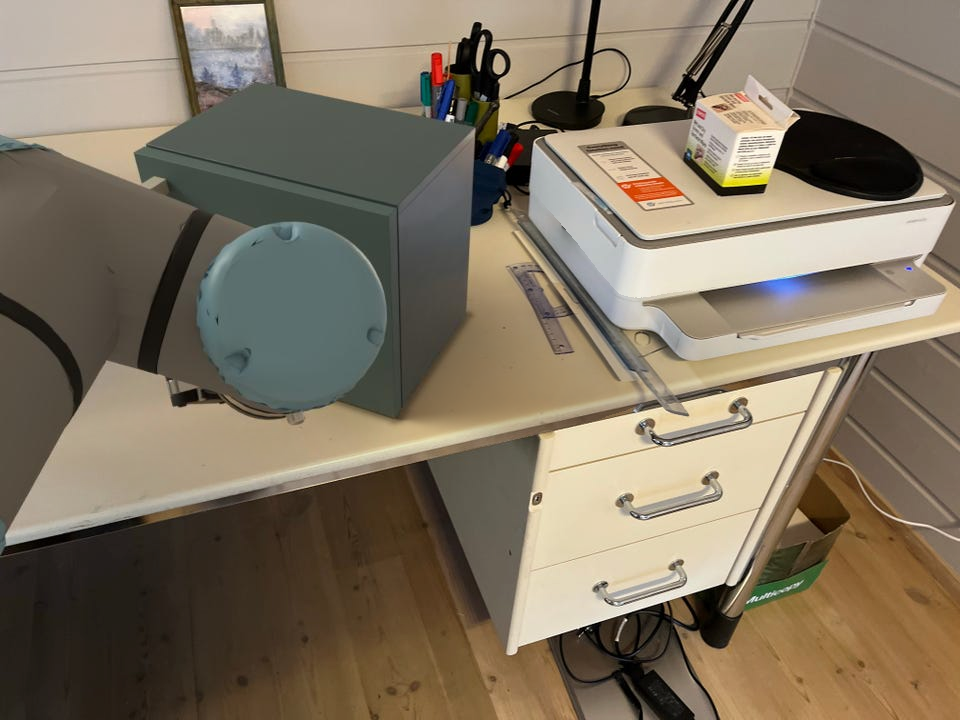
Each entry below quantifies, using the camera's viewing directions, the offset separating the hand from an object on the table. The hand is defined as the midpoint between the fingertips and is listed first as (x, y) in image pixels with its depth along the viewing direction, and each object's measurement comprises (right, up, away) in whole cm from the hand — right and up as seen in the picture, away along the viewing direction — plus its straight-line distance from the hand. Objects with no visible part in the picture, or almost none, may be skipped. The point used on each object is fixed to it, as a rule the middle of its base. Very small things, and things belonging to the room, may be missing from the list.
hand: (255, 384), depth 66 cm
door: (-2, -2, +14) cm, 14 cm away
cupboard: (+3, +6, +23) cm, 24 cm away
